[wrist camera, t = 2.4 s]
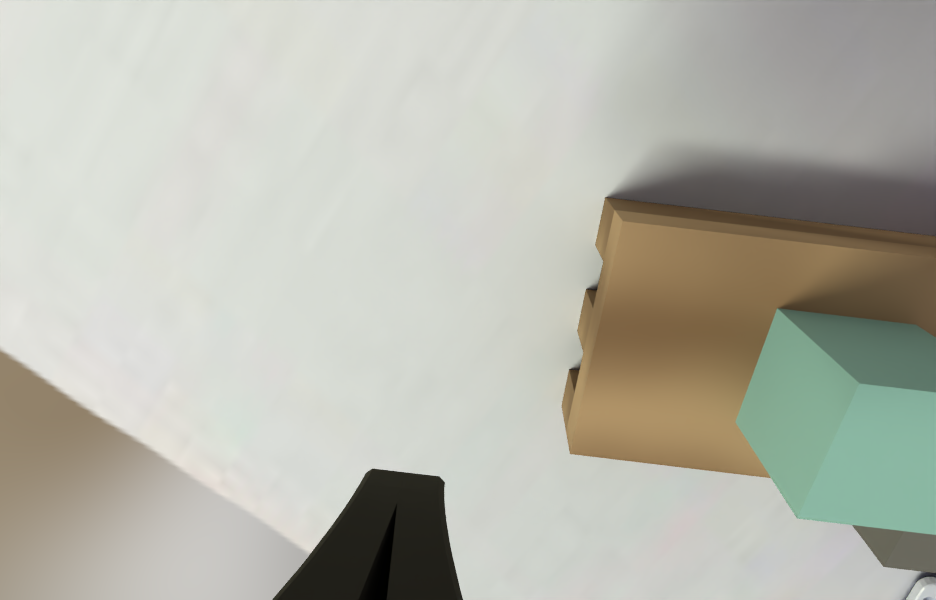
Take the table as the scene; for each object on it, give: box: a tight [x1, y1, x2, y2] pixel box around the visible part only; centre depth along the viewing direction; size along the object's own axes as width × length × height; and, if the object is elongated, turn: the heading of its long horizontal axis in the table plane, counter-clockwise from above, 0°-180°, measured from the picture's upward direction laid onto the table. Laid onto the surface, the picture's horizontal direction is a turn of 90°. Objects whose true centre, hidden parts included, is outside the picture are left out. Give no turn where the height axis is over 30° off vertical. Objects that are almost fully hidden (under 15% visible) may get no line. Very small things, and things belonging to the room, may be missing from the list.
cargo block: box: [736, 308, 936, 535], centre depth 15 cm, size 4×4×4 cm
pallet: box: [562, 197, 936, 478], centre depth 18 cm, size 8×12×3 cm, turn 84°
